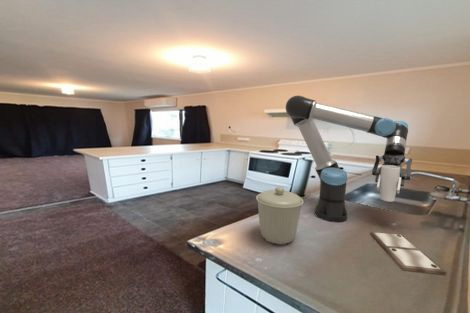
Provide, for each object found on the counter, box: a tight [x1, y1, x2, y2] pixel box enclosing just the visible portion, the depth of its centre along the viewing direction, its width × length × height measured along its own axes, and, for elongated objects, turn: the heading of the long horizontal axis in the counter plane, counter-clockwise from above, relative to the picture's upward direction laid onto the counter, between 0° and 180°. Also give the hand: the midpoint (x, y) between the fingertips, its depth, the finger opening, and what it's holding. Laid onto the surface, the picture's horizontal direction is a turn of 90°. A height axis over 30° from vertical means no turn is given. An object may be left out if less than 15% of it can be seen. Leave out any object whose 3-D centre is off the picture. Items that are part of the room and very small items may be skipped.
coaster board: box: [369, 231, 447, 275], centre depth 79 cm, size 12×23×2 cm, turn 171°
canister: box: [255, 186, 304, 245], centre depth 86 cm, size 18×18×21 cm
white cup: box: [379, 164, 400, 203], centre depth 94 cm, size 7×7×15 cm
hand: (387, 190), depth 92 cm, fingers closed on white cup, 6 cm apart
